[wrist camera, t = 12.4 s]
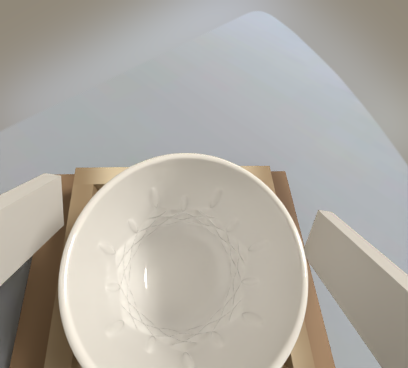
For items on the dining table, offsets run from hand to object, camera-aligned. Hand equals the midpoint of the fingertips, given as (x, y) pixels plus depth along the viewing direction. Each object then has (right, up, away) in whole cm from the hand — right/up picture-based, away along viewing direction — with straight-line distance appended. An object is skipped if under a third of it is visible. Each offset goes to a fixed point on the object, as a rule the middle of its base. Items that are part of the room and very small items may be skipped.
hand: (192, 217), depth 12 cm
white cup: (-1, -5, +5) cm, 7 cm away
